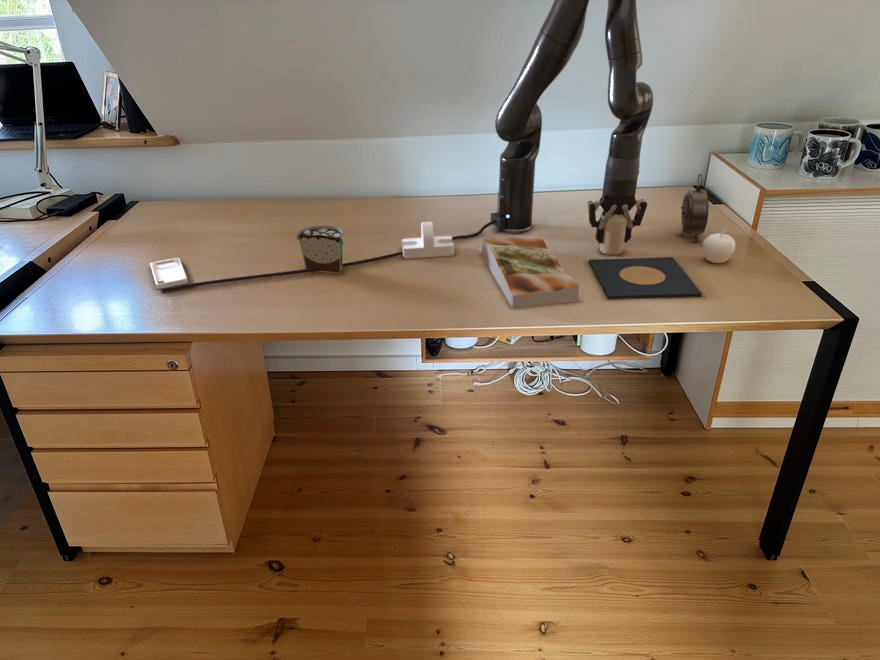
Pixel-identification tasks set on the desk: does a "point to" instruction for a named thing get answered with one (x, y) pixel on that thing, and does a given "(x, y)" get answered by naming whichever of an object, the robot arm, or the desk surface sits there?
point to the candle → (614, 235)
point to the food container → (322, 248)
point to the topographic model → (528, 271)
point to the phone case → (169, 273)
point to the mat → (643, 278)
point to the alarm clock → (695, 211)
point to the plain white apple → (718, 247)
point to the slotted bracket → (427, 244)
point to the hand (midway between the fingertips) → (612, 241)
